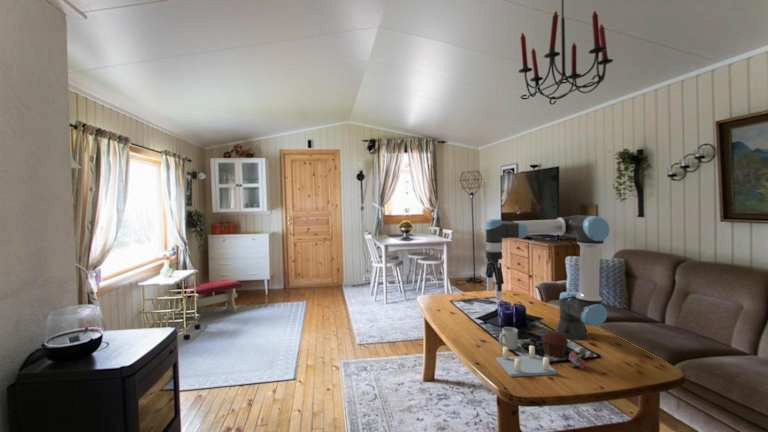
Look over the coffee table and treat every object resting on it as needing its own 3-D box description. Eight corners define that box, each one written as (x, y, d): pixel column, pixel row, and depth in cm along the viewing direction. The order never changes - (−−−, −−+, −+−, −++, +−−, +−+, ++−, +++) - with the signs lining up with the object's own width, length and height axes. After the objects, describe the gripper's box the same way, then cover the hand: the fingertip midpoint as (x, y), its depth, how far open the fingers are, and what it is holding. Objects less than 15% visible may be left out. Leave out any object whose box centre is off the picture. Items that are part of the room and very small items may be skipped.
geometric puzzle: (594, 365, 154) (582, 346, 158) (585, 369, 151) (574, 350, 155) (580, 370, 159) (570, 352, 163) (571, 374, 156) (561, 355, 160)
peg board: (538, 357, 167) (538, 344, 167) (557, 374, 151) (557, 359, 151) (495, 359, 166) (495, 346, 166) (510, 376, 150) (510, 362, 150)
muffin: (554, 347, 179) (554, 327, 179) (573, 355, 169) (573, 334, 169) (535, 351, 175) (535, 330, 175) (554, 360, 165) (554, 338, 164)
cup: (520, 348, 178) (520, 330, 178) (504, 352, 174) (504, 333, 174) (510, 343, 185) (510, 326, 184) (494, 346, 181) (494, 328, 181)
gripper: (479, 247, 188) (479, 288, 189) (494, 254, 163) (494, 301, 164) (493, 247, 188) (493, 287, 189) (510, 254, 164) (511, 300, 164)
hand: (494, 294), depth 177 cm, fingers open, 13 cm apart
